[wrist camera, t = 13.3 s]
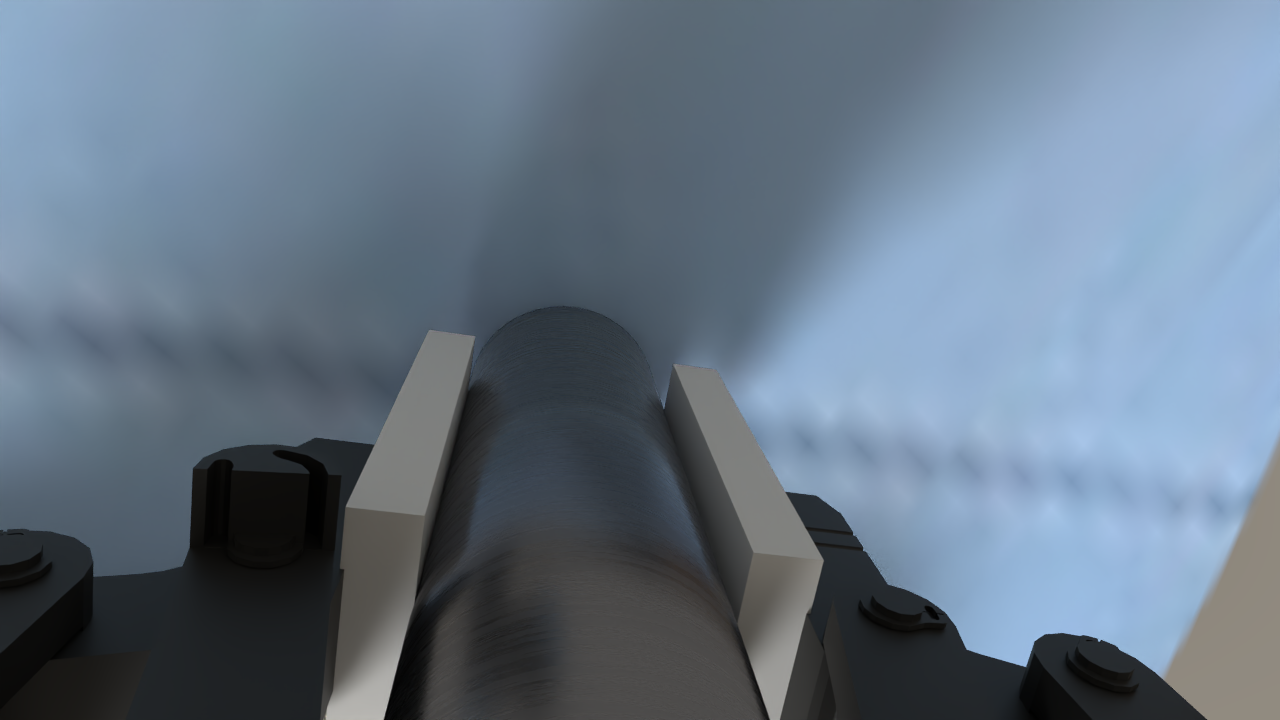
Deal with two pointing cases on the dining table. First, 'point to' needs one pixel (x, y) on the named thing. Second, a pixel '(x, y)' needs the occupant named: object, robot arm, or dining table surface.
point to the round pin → (569, 549)
